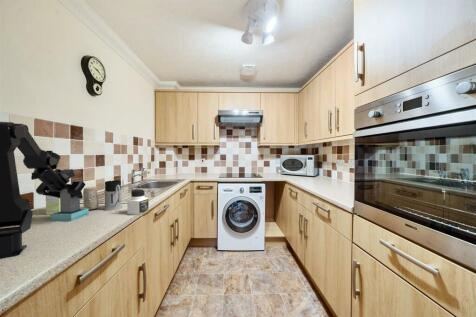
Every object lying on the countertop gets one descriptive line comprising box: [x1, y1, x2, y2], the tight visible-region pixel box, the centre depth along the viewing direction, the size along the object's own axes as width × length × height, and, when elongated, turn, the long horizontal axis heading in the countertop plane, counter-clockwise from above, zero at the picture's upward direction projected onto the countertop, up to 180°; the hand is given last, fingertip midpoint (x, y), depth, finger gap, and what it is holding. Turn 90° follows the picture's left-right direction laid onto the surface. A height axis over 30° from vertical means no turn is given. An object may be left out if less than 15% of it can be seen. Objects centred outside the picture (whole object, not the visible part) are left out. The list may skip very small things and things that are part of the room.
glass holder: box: [103, 179, 123, 211], centre depth 109 cm, size 9×14×15 cm, turn 49°
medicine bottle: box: [126, 188, 150, 216], centre depth 102 cm, size 7×7×12 cm
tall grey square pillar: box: [60, 189, 81, 214], centre depth 94 cm, size 5×5×13 cm
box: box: [45, 195, 60, 216], centre depth 104 cm, size 10×6×12 cm, turn 17°
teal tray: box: [50, 208, 89, 222], centre depth 94 cm, size 10×10×3 cm
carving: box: [82, 186, 99, 211], centre depth 108 cm, size 6×8×12 cm
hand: (72, 197), depth 95 cm, fingers open, 9 cm apart
